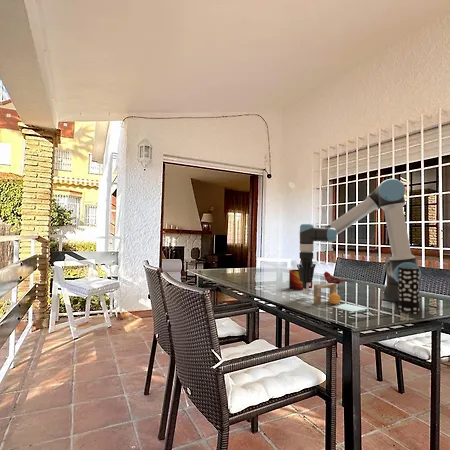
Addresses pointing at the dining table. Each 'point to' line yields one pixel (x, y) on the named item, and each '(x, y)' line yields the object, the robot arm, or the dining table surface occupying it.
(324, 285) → the bridge
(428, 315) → the dining table surface
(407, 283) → the white-spotted black cylinder
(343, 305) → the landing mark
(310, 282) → the robot arm
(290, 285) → the mug
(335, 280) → the decorative bird figurine
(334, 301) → the ball
